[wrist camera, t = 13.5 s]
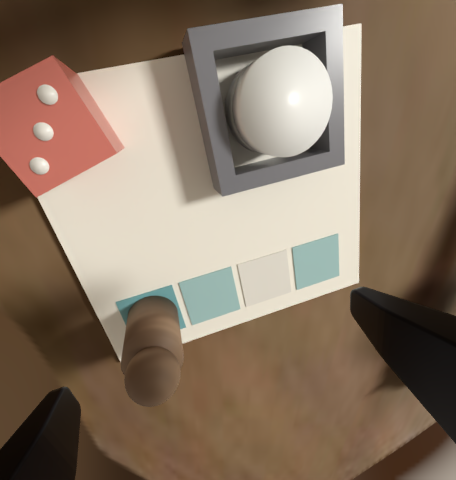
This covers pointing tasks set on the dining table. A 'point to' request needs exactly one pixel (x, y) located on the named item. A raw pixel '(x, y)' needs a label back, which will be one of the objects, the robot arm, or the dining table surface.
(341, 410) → the dining table surface
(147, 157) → the board
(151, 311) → the pawn
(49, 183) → the die
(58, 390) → the robot arm
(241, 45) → the dome housing
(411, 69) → the dining table surface
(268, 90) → the dome
